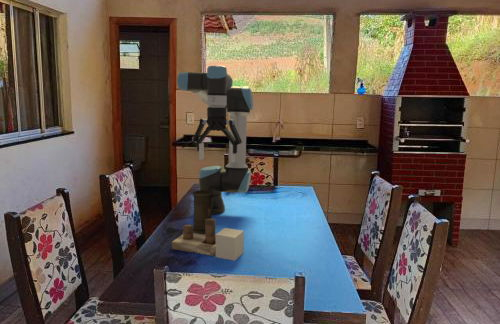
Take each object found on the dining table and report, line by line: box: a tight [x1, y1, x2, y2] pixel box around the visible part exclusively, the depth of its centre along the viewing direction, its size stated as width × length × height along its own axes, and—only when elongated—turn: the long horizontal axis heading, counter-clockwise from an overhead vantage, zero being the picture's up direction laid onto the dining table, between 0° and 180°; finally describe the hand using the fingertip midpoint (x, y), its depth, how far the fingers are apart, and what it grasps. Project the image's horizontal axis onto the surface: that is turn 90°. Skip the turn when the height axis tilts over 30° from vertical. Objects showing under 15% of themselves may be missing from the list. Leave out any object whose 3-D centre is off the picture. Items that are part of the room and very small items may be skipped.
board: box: [171, 224, 216, 256], centre depth 157 cm, size 12×18×8 cm, turn 70°
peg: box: [204, 217, 216, 245], centre depth 155 cm, size 4×4×12 cm
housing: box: [215, 227, 245, 262], centre depth 149 cm, size 8×8×9 cm
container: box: [192, 189, 212, 235], centre depth 174 cm, size 9×9×18 cm
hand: (216, 160), depth 155 cm, fingers open, 13 cm apart
